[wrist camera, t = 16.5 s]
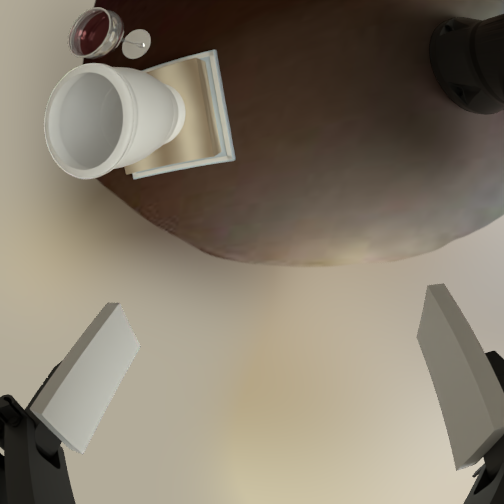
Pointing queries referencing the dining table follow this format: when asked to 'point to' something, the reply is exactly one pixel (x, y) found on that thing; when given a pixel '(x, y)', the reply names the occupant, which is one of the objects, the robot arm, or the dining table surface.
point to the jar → (109, 118)
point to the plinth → (186, 117)
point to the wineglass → (104, 36)
